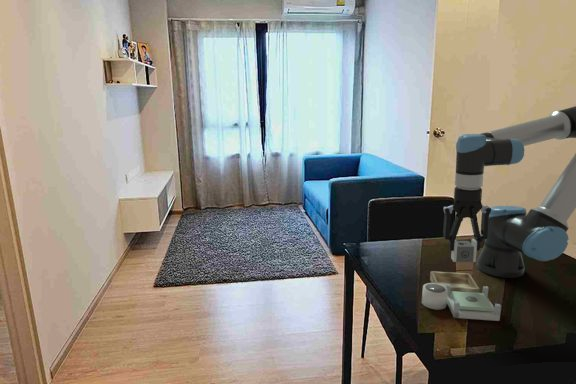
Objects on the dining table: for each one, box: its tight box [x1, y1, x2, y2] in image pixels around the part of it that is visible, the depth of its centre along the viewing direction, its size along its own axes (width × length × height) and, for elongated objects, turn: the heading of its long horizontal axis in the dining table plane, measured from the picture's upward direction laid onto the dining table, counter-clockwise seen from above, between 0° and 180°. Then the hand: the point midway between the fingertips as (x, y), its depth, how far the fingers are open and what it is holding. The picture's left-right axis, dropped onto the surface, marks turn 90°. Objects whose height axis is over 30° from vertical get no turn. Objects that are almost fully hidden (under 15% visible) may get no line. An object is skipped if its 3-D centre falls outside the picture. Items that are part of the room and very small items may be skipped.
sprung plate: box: [451, 291, 493, 311], centre depth 119 cm, size 9×9×1 cm
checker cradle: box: [446, 284, 502, 322], centre depth 119 cm, size 12×12×4 cm
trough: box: [429, 270, 481, 293], centre depth 132 cm, size 12×11×3 cm
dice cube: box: [450, 240, 474, 263], centre depth 127 cm, size 5×5×5 cm
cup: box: [421, 282, 448, 311], centre depth 122 cm, size 7×7×5 cm
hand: (463, 259), depth 127 cm, fingers closed on dice cube, 5 cm apart
